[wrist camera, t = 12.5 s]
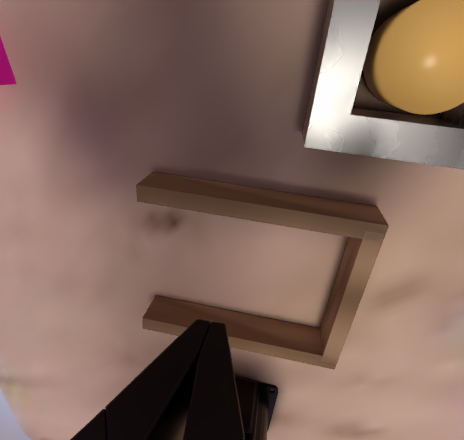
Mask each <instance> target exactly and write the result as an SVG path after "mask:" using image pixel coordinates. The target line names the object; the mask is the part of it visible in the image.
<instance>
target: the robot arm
mask: <svg viewBox="0 0 464 440" xmlns="http://www.w3.org/2000/svg"><path fill="white" fill-rule="evenodd" d="M270 389H273V390H274V391H271V390H270ZM277 395H278V388H277V387H276V386H275V385H271V384H267V383H262V382H258V381H253V380H249V379H244V378H240V377H235V376H234V370H233V364H232V358H231V352H230V346H229V340H228V335H227V329H226V324H225V323H223V322H217V321H212V322H211V321H210V320H205V319H196V320H195V321H194V322H193V323H192V324H191V325H190V326H189V327H188V328H187V329H186V330H185V331H184V332H183V333H182V334H181V335H180V336H179V337H178V338H177V339H175V340H174V341H173V342H172V343H171V344H170V345H169V346H168V347H167V348H166V349H165V350H164V351H163V352H162V353H161V354H160V355H159V356H158V357H157V358H156V359H155V360H154V361H153V362H152V363H151V364H149V365H148V366H147V367H146V368H145V369H144V370H143V371H142V372H141V373H140V374H139V375H138V376H137V377H136V378H135V379H134V380H133V381H132V382H131V383H130V384H129V385H128V386H127V387H126V388H125V389H123V390H122V391H121V392H120V393H119V394H118V395H117V396H116V397H115V398H114V399H113V400H112V401H111V402H110V403H109V404H108V405H107V406H106V408H105V409H102V410H101V411H100V412H99V413H98V414H97V415H96V416H95V417H94V418H93V419H92V420H91V421H90V422H89V423H88V424H87V425H86V426H85V427H84V428H82V429H81V430H80V431H79V432H78V433H77V434H76V435H75V436H74V437H73V438H72V439H70V440H267V431H268V428H269V425H270V421H271V417H272V413H273V410H274V406H275V402H276V398H277Z"/></svg>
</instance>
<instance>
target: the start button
mask: <svg viewBox="0 0 464 440" xmlns="http://www.w3.org/2000/svg"><path fill="white" fill-rule="evenodd" d="M363 73H364V78H365V81H366V84H367V86H368V88H369V90H370V91H371V92H372V94H373V95H374V96H375V97H377V98H378V99H379V100H381V101H383V102H385V103H387V104H390V105H392V106H395V107H397V108H400V109H402V110H404V111H407V112H410V113H415V114H424V115H426V114H435V113H441V112H444V111H447V110H450V109H452V108H454V107H456V106H458V105H460V104H462V103H463V102H464V0H420V1H418V2H416V3H414V4H412V5H410V6H408V7H406V8H404V9H402V10H400V11H398V12H396V13H395V14H393V15H392V16H390V17H389V18H388V19H387V20H386V21H384V22H383V23H382V24H381V25H380V27H379V28H378V29H377V30H376V32H375V33H374V34H373V36H372V38H371V39H370V42H369V46H368V50H367V53H366V57H365V61H364V65H363Z"/></svg>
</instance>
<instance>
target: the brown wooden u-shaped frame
mask: <svg viewBox="0 0 464 440" xmlns="http://www.w3.org/2000/svg"><path fill="white" fill-rule="evenodd" d="M136 186H137V201H138V202H144V203H150V204H156V205H162V206H168V207H174V208H180V209H186V210H192V211H198V212H204V213H210V214H216V215H222V216H228V217H234V218H240V219H246V220H252V221H257V222H263V223H269V224H275V225H281V226H287V227H293V228H299V229H305V230H311V231H317V232H323V233H329V234H335V235H341V236H347V237H349V239H348V242H347V245H346V248H345V251H344V254H343V258H342V261H341V264H340V267H339V270H338V273H337V276H336V280H335V283H334V286H333V289H332V292H331V295H330V299H329V302H328V305H327V308H326V311H325V314H324V318H323V321H322V324H321V327H320V329H319V328H314V327H309V326H304V325H299V324H294V323H289V322H284V321H279V320H274V319H269V318H264V317H259V316H254V315H249V314H244V313H239V312H234V311H229V310H224V309H219V308H214V307H209V306H204V305H199V304H194V303H189V302H184V301H180V300H175V299H170V298H165V297H160V296H155V298H154V299H153V301H152V303H151V305H150V306H149V308H148V310H147V311H146V313H145V315H144V316H143V329H148V330H153V331H157V332H162V333H167V334H171V335H176V336H180V335H181V334H182V333H183V332H184V331H185V330H186V329H187V328H188V327H189V326H190V325H191V324H192V323H193V322H194V321H195V320H196V319H205V320H210V321H211V322H212V321H217V322H223V323H225V324H226V329H227V335H228V340H229V346H230V347H232V348H237V349H242V350H246V351H251V352H256V353H260V354H265V355H270V356H274V357H279V358H284V359H288V360H293V361H298V362H302V363H307V364H312V365H316V366H321V367H326V368H330V369H335V367H336V364H337V361H338V359H339V356H340V353H341V351H342V348H343V345H344V343H345V340H346V337H347V335H348V332H349V329H350V327H351V324H352V322H353V319H354V316H355V314H356V311H357V308H358V306H359V303H360V300H361V298H362V295H363V292H364V290H365V287H366V284H367V282H368V279H369V277H370V274H371V271H372V269H373V266H374V263H375V261H376V258H377V255H378V253H379V250H380V247H381V245H382V242H383V239H384V237H385V234H386V232H387V229H388V226H389V225H388V224H387V222H386V220H385V219H384V217H383V215H382V214H381V212H380V210H379V209H378V207H376V206H370V205H363V204H357V203H351V202H344V201H338V200H331V199H325V198H319V197H312V196H306V195H299V194H293V193H287V192H280V191H274V190H267V189H261V188H255V187H248V186H242V185H235V184H229V183H223V182H216V181H210V180H203V179H197V178H191V177H184V176H178V175H171V174H165V173H159V172H152V173H151V174H150V175H149V176H147V177H146V178H145V179H143V180H142V181H141V182H140V183H138V184H137V185H136Z"/></svg>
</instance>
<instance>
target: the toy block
mask: <svg viewBox="0 0 464 440" xmlns="http://www.w3.org/2000/svg"><path fill="white" fill-rule="evenodd" d="M8 84H16V81H15V78H14V75H13V72H12V69H11V66H10V63H9V60H8V57H7V55H6V52H5V49H4V46H3V43H2V40H1V37H0V85H8Z"/></svg>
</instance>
